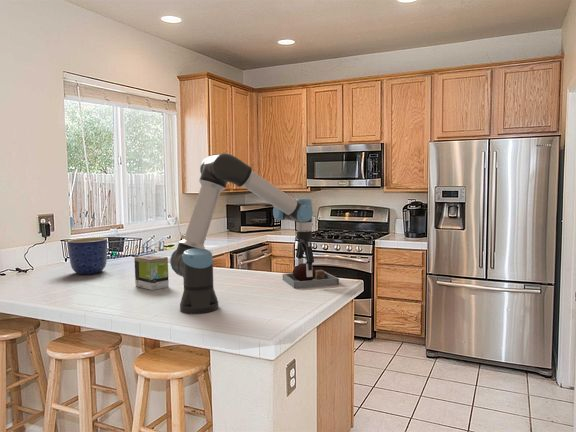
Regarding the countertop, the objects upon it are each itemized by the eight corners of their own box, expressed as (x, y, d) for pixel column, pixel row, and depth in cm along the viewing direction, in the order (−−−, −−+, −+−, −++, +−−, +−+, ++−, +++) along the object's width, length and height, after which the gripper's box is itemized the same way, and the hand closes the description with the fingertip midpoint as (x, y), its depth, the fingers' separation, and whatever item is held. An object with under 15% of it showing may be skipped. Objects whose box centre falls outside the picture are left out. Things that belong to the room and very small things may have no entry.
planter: (95, 268, 280) (94, 236, 278) (116, 271, 268) (114, 238, 266) (61, 274, 263) (60, 240, 262) (82, 278, 251) (80, 243, 250)
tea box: (169, 287, 227) (168, 256, 225) (151, 290, 219) (149, 259, 218) (153, 282, 237) (151, 253, 236) (134, 286, 230) (133, 256, 228)
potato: (312, 285, 221) (310, 266, 220) (289, 283, 227) (288, 265, 226) (319, 280, 229) (318, 261, 228) (298, 278, 235) (296, 260, 233)
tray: (294, 289, 216) (294, 282, 216) (282, 280, 235) (282, 274, 235) (338, 285, 222) (338, 278, 222) (323, 277, 241) (323, 270, 241)
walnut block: (316, 279, 234) (316, 271, 233) (314, 278, 238) (314, 270, 237) (324, 279, 235) (324, 271, 235) (321, 277, 239) (321, 269, 238)
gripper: (320, 233, 215) (321, 278, 217) (303, 227, 239) (304, 268, 241) (305, 233, 213) (305, 279, 215) (289, 228, 237) (290, 270, 238)
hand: (305, 274), depth 228 cm, fingers open, 13 cm apart
